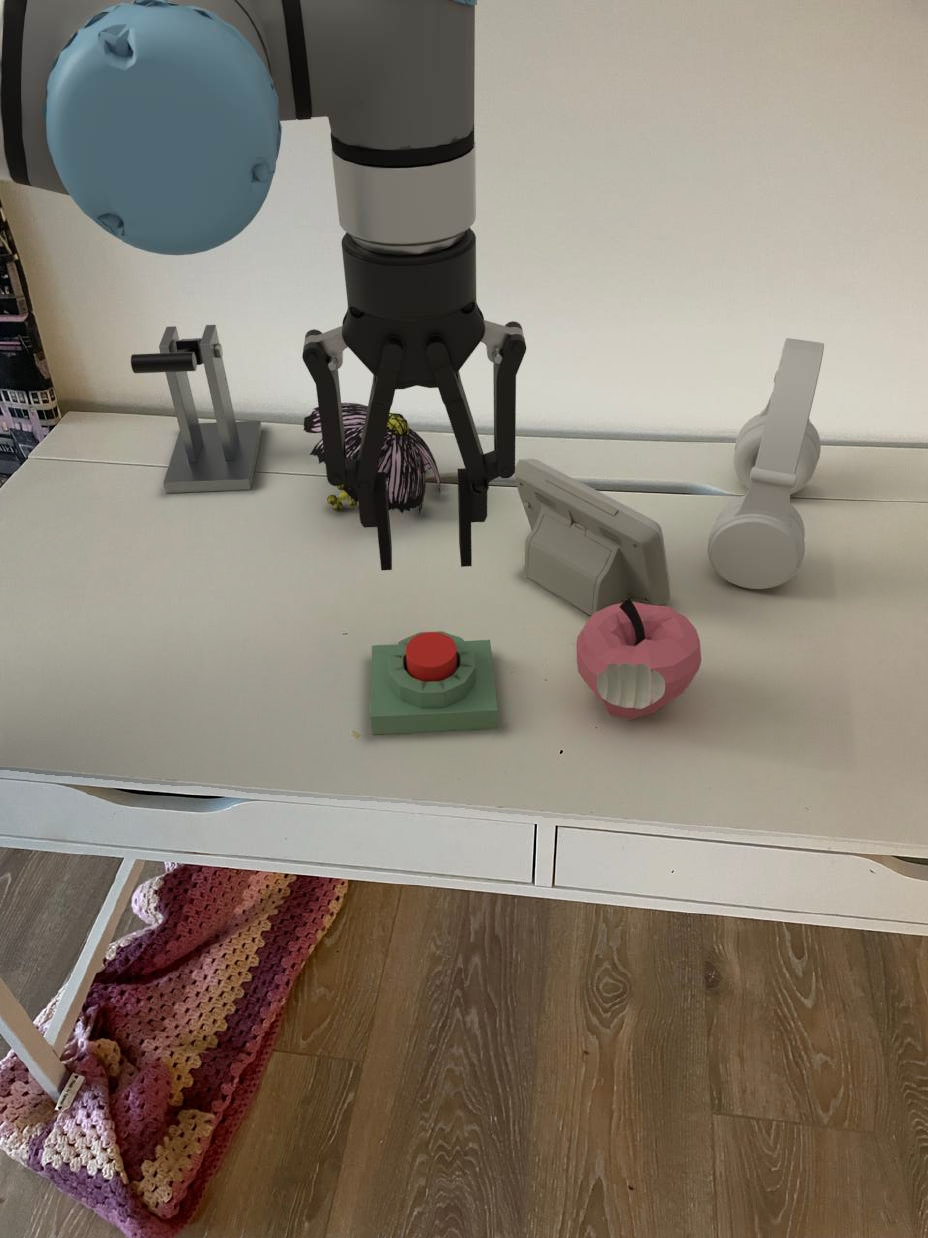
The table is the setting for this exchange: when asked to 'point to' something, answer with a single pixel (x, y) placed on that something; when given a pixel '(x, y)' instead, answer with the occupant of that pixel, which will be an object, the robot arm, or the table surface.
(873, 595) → the table surface
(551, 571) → the digital clock
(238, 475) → the bracket
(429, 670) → the button
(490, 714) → the button box
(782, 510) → the headphones
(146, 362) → the lever
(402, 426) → the decorative flower
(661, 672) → the apple
